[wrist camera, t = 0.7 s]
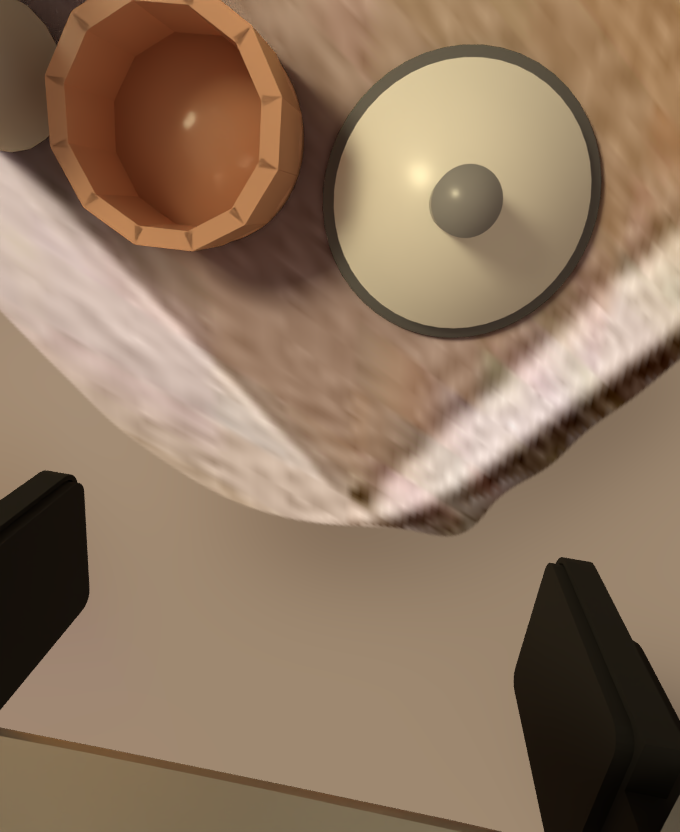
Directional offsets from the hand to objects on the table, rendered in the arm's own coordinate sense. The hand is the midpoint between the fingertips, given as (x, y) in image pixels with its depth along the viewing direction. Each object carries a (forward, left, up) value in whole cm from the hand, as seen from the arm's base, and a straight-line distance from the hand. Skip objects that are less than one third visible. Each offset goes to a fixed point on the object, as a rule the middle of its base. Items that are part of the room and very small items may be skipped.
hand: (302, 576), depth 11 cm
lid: (-8, +4, -23) cm, 24 cm away
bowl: (-10, -10, -23) cm, 27 cm away
